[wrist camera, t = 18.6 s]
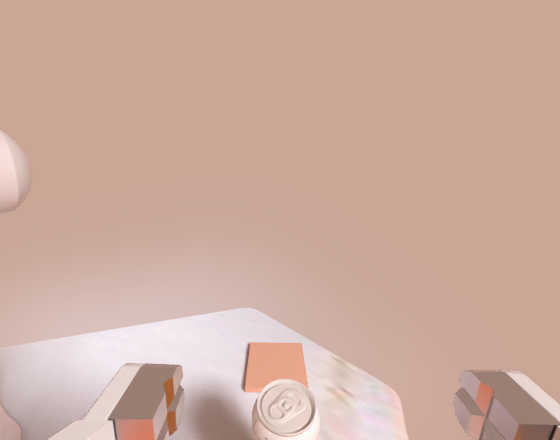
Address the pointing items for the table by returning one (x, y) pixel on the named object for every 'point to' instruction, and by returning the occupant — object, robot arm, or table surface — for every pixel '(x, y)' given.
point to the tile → (274, 364)
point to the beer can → (285, 412)
